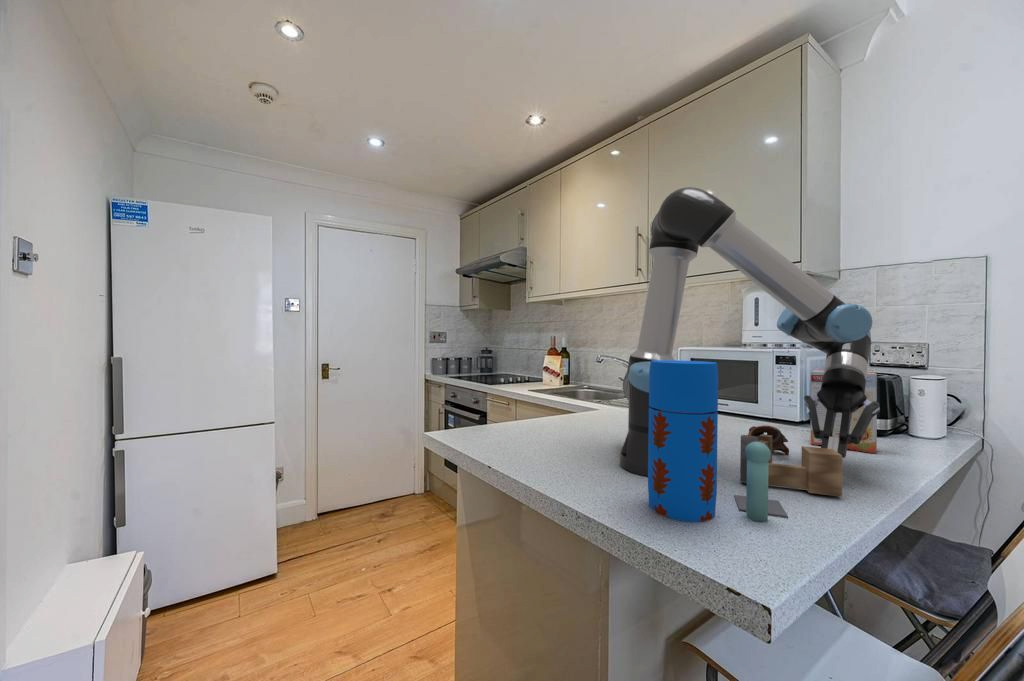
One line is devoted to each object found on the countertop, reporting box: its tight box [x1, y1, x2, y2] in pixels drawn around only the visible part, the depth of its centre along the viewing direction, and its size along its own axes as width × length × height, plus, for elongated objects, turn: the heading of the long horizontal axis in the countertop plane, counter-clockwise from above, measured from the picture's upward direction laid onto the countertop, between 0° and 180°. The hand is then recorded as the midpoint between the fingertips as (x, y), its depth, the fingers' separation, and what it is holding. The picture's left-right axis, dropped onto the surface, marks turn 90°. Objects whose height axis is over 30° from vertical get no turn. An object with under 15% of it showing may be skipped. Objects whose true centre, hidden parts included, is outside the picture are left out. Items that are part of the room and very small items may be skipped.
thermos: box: [647, 359, 719, 523], centre depth 70 cm, size 11×11×25 cm
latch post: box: [745, 442, 771, 523], centre depth 67 cm, size 4×4×12 cm
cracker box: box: [810, 369, 878, 454], centre depth 113 cm, size 14×6×21 cm, turn 49°
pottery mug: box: [747, 424, 790, 456], centre depth 106 cm, size 12×10×8 cm
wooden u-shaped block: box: [739, 434, 843, 498], centre depth 80 cm, size 16×5×9 cm, turn 69°
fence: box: [758, 433, 773, 463], centre depth 88 cm, size 2×10×8 cm, turn 134°
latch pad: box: [733, 494, 789, 519], centre depth 71 cm, size 7×7×1 cm
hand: (830, 468), depth 81 cm, fingers closed
